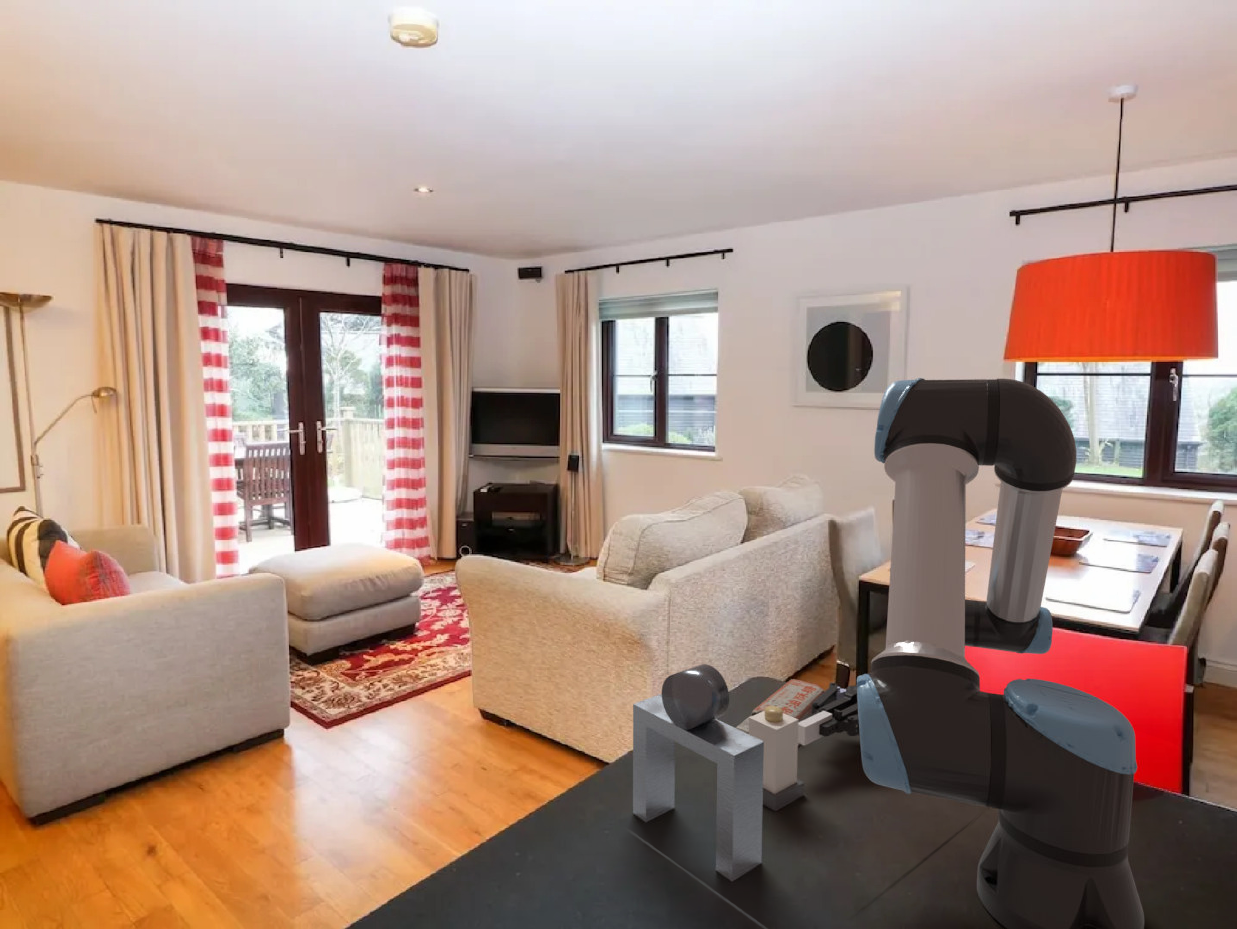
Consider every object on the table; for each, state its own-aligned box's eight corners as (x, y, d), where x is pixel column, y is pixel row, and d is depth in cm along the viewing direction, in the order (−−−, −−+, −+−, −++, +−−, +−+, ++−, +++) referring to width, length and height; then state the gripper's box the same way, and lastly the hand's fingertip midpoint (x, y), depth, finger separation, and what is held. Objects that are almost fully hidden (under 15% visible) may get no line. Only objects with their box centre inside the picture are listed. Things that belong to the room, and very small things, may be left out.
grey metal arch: (761, 865, 85) (765, 687, 83) (732, 883, 82) (735, 699, 79) (661, 801, 98) (662, 646, 96) (633, 815, 95) (633, 655, 93)
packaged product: (781, 672, 131) (836, 685, 125) (780, 698, 131) (835, 713, 126) (735, 708, 116) (795, 724, 111) (734, 737, 117) (794, 755, 111)
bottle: (803, 795, 99) (806, 711, 98) (775, 811, 95) (777, 724, 94) (768, 776, 104) (770, 696, 102) (740, 791, 100) (741, 708, 98)
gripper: (928, 727, 113) (839, 778, 98) (854, 699, 123) (763, 742, 108) (930, 680, 113) (841, 725, 98) (855, 656, 123) (764, 694, 108)
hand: (800, 734), depth 103 cm, fingers closed
